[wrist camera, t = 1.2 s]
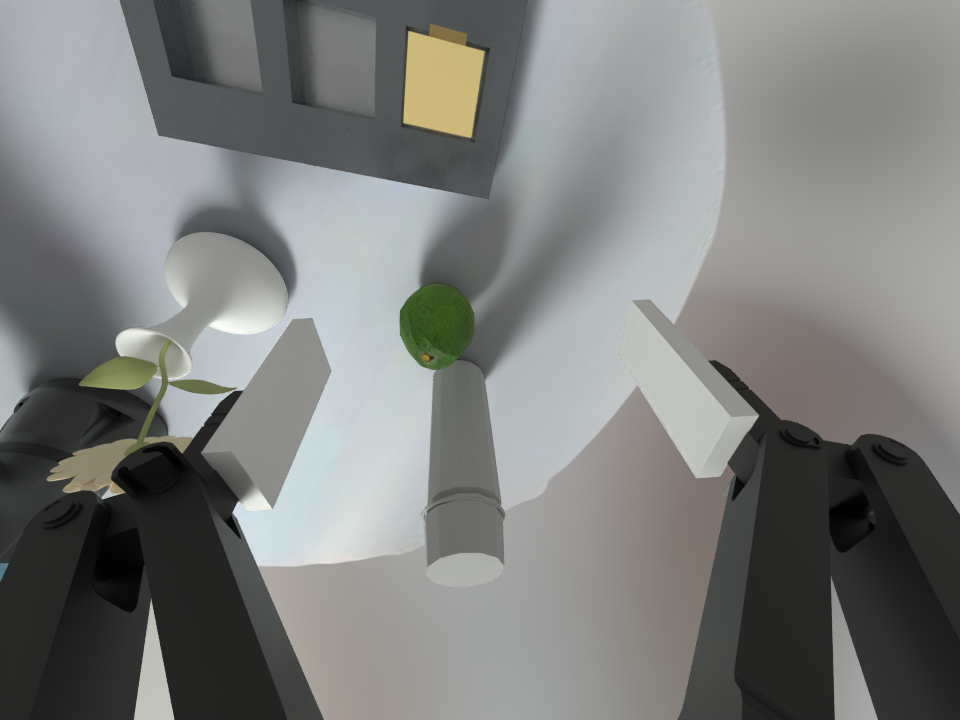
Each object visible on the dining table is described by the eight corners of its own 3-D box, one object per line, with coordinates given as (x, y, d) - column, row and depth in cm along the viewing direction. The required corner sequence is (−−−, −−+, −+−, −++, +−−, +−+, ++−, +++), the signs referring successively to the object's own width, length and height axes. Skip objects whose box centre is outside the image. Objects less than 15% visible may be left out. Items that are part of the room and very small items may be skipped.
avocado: (433, 255, 39) (429, 309, 29) (485, 299, 42) (496, 359, 33) (390, 304, 42) (373, 367, 32) (441, 341, 45) (440, 407, 36)
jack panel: (188, 130, 30) (158, 135, 27) (125, -130, 22) (71, -166, 19) (484, 189, 35) (488, 199, 32) (521, -9, 27) (531, -23, 24)
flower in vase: (171, 298, 39) (-110, 510, 19) (182, 204, 34) (-194, 365, 14) (294, 344, 44) (169, 552, 24) (321, 268, 39) (189, 456, 19)
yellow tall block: (416, 112, 30) (403, 122, 21) (422, 41, 27) (409, 15, 18) (463, 123, 31) (471, 138, 21) (473, 55, 28) (486, 36, 19)
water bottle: (440, 348, 46) (436, 543, 26) (495, 365, 48) (529, 555, 29) (418, 397, 51) (401, 593, 31) (469, 410, 53) (483, 600, 33)
